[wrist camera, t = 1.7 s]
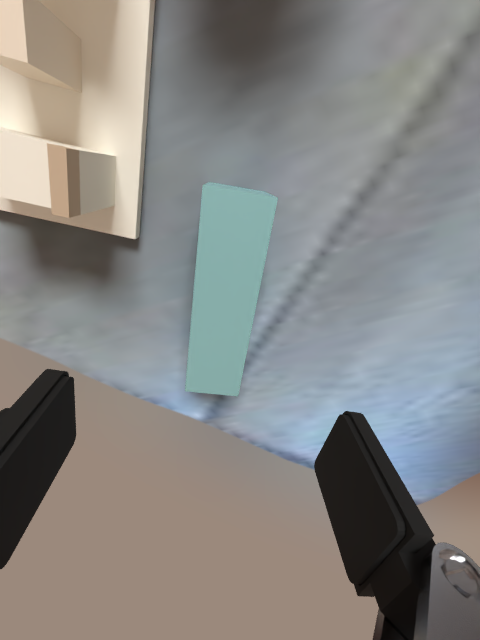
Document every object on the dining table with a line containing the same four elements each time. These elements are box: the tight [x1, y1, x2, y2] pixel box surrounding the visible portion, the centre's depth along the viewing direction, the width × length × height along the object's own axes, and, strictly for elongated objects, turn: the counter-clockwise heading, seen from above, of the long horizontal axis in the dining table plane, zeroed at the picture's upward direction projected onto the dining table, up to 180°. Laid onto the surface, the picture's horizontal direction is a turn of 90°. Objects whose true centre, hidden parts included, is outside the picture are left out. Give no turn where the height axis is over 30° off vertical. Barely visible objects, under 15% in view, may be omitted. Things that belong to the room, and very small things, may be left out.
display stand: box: [0, 0, 155, 239], centre depth 13 cm, size 10×18×7 cm, turn 167°
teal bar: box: [185, 182, 278, 396], centre depth 21 cm, size 4×14×6 cm, turn 171°
